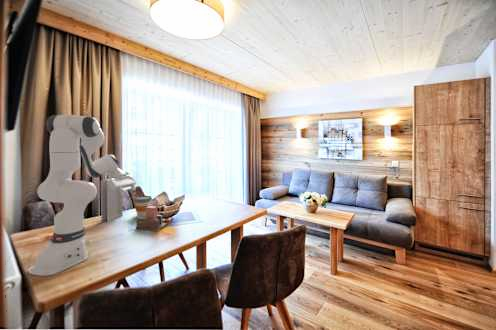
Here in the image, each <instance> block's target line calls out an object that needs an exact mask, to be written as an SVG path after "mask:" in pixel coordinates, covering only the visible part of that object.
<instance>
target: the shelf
mask: <svg viewBox="0 0 496 330" xmlns="http://www.w3.org/2000/svg"><path fill="white" fill-rule="evenodd" d="M135 219H136V226H135V230H140V231H148V232H156V233H157V232H159V231H160V230H162V229H164V228H165V227H167V226H168V223H167V222H162V224H159V219H150V218H146V217H144V218H139V217H136V218H135Z"/></svg>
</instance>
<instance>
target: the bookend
mask: <svg viewBox="0 0 496 330" xmlns="http://www.w3.org/2000/svg"><path fill="white" fill-rule="evenodd" d="M157 219H159V224H162V223H163V215H161V214H157Z"/></svg>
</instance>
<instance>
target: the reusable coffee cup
mask: <svg viewBox="0 0 496 330" xmlns="http://www.w3.org/2000/svg"><path fill="white" fill-rule="evenodd" d="M150 200H152V201H153V199H152V195H151V196H150V195H141V196H140V195H139V196H135V197H134V203H135V204H134V207H135V211H136V216H137V217H136V218H138V217H139V218H146V207H148V202H149V201H150Z"/></svg>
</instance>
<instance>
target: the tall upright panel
mask: <svg viewBox="0 0 496 330" xmlns="http://www.w3.org/2000/svg"><path fill="white" fill-rule="evenodd" d="M100 202H101V203H100V213H101V215H100V217H101V222H103V221H105V220H107V222H108V223H109V222H112V221H113V220H116V219H119V218H122V217H123V216H124V215H123V192H121V191H119V190H118V189H117V190H113V189H112V188H111V187H110V186H109V184H108V181H107V179H105V180H104V179H103V180H100Z"/></svg>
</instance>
